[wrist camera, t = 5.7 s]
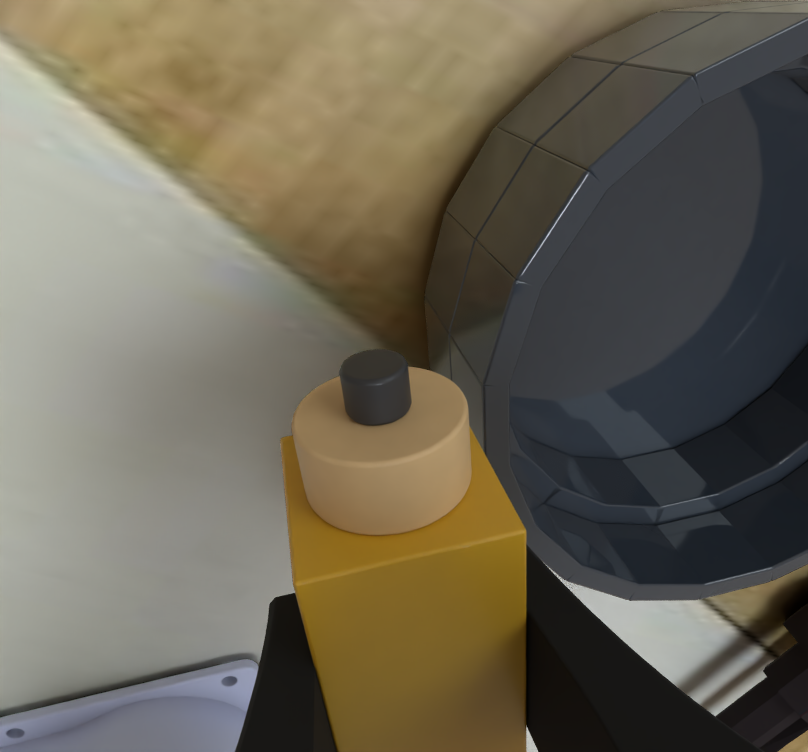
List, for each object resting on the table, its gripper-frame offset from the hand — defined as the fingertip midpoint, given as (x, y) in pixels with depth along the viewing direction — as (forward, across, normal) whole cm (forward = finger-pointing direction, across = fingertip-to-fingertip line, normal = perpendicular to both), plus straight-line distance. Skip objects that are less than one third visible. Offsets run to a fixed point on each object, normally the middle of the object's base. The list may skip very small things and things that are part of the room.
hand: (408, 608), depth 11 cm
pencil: (+1, 0, 0) cm, 1 cm away
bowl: (+9, -10, -1) cm, 13 cm away
